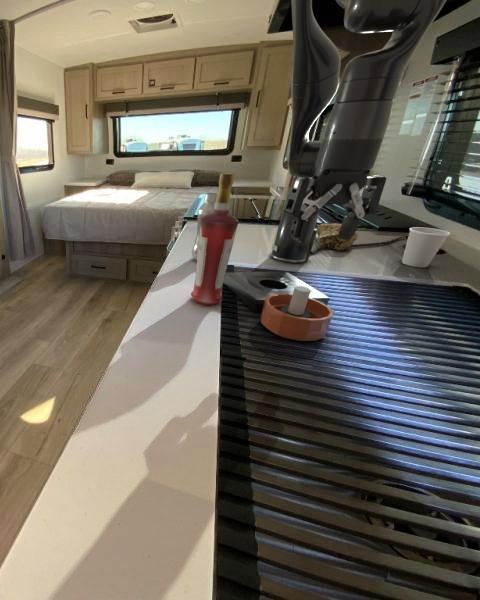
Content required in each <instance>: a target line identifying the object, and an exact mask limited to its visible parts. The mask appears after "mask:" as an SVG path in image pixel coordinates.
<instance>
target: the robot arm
mask: <svg viewBox="0 0 480 600" xmlns="http://www.w3.org/2000/svg"><path fill="white" fill-rule="evenodd" d="M335 2H336V3H337V5H339V6H340V7H341V8H342V9H343V10H344V14H343V26H344V28H345V29H346V30H347V31H349V32H352V33H356V34H372V33H373V34H374V33H384V32H392V34H391V36H390V38H389V39H388V41H387V42H386V44H385V45H384V46H383V47H382V48H381V49H378V50H374V51H370V52H367V53H363V54H359V55H357V56H354V57H353V58H351V59H350V60H349V61H348V62H347V63H346V65H345V66H344V69H343V71H342V75H340V74H341V67H342V66H341V64H342V63H341V62H342V57H341V53H340V51H339V50H338V47H336V45H335V44H334V42H333V40H331V39H330V38H329V36H327V35H326V33H325V32H324V31H323V29H321V27H320V25H319V23H318V21H317V19H316V18H315V16H314V12H313V11H314V10H313V0H291V17H292V18H291V19H292V20H291V21H292V62H291V63H292V64H291V91H290V92H291V93H290V94H291V127H290V128H291V130H290V140H289V149H288V151H289V152H288V162H287V168H288V172H289V174H290V175H291V176H294V178H293V179H292V182H291V185H290V188H289V191H288V192H287V193H286V196H285V200H284V203H283V208H282V212H281V216H280V219H279V224H278V227H277V231H276V234H275V239H274V243H272V244H271V245H272V246H271V250H272V251H271V254H270V257H271V259H273V260H275V261H279V262H283V263H289V264H302V263H305V262H308V261H309V259H310V256H311V255H316V254H317V253H318V252H319V251H321V250H329V249H331V250H332V248H331V247H328V246H319V247H317V248H316V249H314V250H312V249H313V246H314V243H315V240H316V237H317V235H318V234H317V229H316V226H317V222H318V218H319V215H320V211H321V208H322V207H323V206H332V205H340V206H342V207H343V209H344V211H345V214H346V215H344V216H343V219H342V222H341V224H342V225H341V228H340V231H339V234H338V237H339V238H341V239H344V240H350V239H351V238H352V236H353V235H354V234H355V232H356V233H357V229H358V226H359V224H360V221H361V219H362V218H364V217H365V216H367V215H375V214H376V213H377V210H378V207H379V205H380V201H381V198H382V194H383V192H384V189H385V185H386V182H387V177H386V176H382V175H374V174H370V175H368V172H369V171H370V170H372V169H373V168H374V166H375V163H376V160H377V157H378V154H379V151H380V150H381V146H382V143H383V140H384V138H385V135H386V132H387V129H388V126H389V123H390V120H391V116H392V110H393V106H394V103H395V102H394V101H395V100H396V96H397V93H398V91H399V89H400V85H401V82H402V79H403V78H404V77H403V76H404V73H405V70H406V68H407V66H408V64H409V63H410V60H411V59H412V57H413V55H414V54H415V52H416V50H417V49H418V47H419V45H420V44H421V42H422V40H423V39H424V37H425V35H426V33H427V32H428V30H429V29H430V27H431V25H432V24H433V22H434V21H435V19H436V18H437V16H438V15H439V13H440V12H441V10H442V9H443V7H444V6H445V3H446V2H447V0H335ZM340 76H341V78H340ZM335 95H336V97H335ZM334 97H335V100H334V104H333V106H332V109H331V112H330V114H329V116H328V119H327V121H326V125H325V129H324V133H323V135H322V139H321V140H310V139H309V134H310V130H311V128H312V127H313V125H314V123H315V122H316V120H317V119H318V118H319V117H320V116H321V114H322V113H323V112H324V110H325V109H326V108H327V107H328V105H329V104H330V103H331V101H332V100H333V98H334ZM361 190H362V193H360V191H361ZM398 237H399V236H398ZM404 237H405V238H406V239H408V237H409V234H408V236H403V237H399V238H396V237H395V238H396V239H394V240H391V239H390V240H391V241H387V240H383V241H384V242H383V241H377V242H367V243H355V244H354V243H353V244H352V245H351V246H350V247H349V248H361V247H372V246H379V245H386V244H390V243H394V242H396V241H398V240H401V239H402V238H404ZM385 241H387V242H385ZM380 242H381V243H380Z"/></svg>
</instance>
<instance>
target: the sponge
mask: <svg viewBox="0 0 480 600" xmlns="http://www.w3.org/2000/svg"><path fill="white" fill-rule="evenodd" d="M341 225H342V223H339V222H333V223H331V222H330V223H327V222H325V223H321V224H319V225H318V226H317V228H316V230H317V234H316V235H317V236H318V237H317V242H318V244H320V247H323V246H328V247H331V249H333V250H335V251H343V250H346V249H349V248H351V247H350V246H351V245H352V244H354V243H355V241H357V239H358V236H359V234H358V233H357V231H356V232H355V234H354V235H353V236H352V238H351V239H350V240H344V239H341V238H339V237H338V234H339V231H340V228H341Z"/></svg>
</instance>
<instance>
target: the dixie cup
mask: <svg viewBox="0 0 480 600" xmlns="http://www.w3.org/2000/svg"><path fill="white" fill-rule="evenodd" d="M408 235H409V237H408V238H407V240H406V245H405V247H404V253H403V255H402V260H401V263H402V264H404V265H406V266H408V267H409V266H410V267H414V268H428V267H429V265H430V264H431V262H432V261H433V259H434V257H435V256H436V255H437V253H438V252H439V250H440V249H441V247H442V246H443V244H444V243H445V242H446V240H447V238H448V237H450V235H451V232H449V231H447V230H444V229H438V228H432V227H421V226H413V227H410V228H409V233H408Z"/></svg>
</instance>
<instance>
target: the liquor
mask: <svg viewBox="0 0 480 600" xmlns="http://www.w3.org/2000/svg"><path fill="white" fill-rule="evenodd" d="M235 176H236V173H233V172H221V173H220V175H219V180H218V192H217V193H218V195H217V199H216V203H215V207H214V211H213V213H211V214H208V215H206V216H204V217H203V218H202V219H201V225H200V234H199V244H198V256H197V260H196V268H195V276H194V284H193V290H192V291H191V293H190V296H191V297H192V298H193V300H194V301H195V302H196V303H198V304H199V305H203V306H213V305H216V304H217V303H219V302H220V301H222V300H223V296H222V290H223V286H224V283H223V282H224V277H225V273H227V269H228V264H229V261H230V257H231V253H232V249H233V247H234V242H235V238H236V234H237V230H238V225H239V220H238V219H237V218H236V217H235V216H234V215H232V214H230V203H231V202H230V201H231V190H232V188H233V185H234V183H235V182H234V181H235Z"/></svg>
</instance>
